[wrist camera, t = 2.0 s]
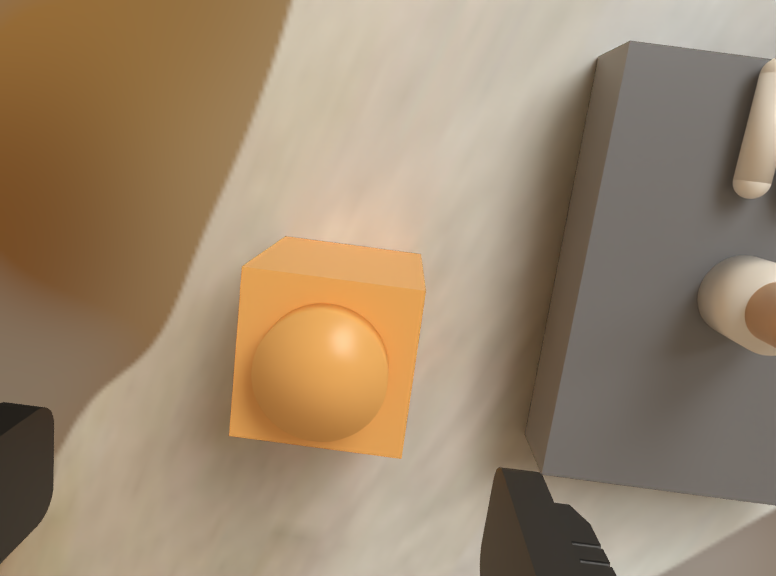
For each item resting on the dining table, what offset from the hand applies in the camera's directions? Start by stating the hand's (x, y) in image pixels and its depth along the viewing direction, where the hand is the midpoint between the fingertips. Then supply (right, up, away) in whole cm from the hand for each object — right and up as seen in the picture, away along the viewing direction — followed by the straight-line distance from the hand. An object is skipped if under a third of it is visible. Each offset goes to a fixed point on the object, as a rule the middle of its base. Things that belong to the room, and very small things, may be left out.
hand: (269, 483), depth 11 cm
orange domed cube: (+1, +3, +12) cm, 12 cm away
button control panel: (+13, +4, +11) cm, 18 cm away
